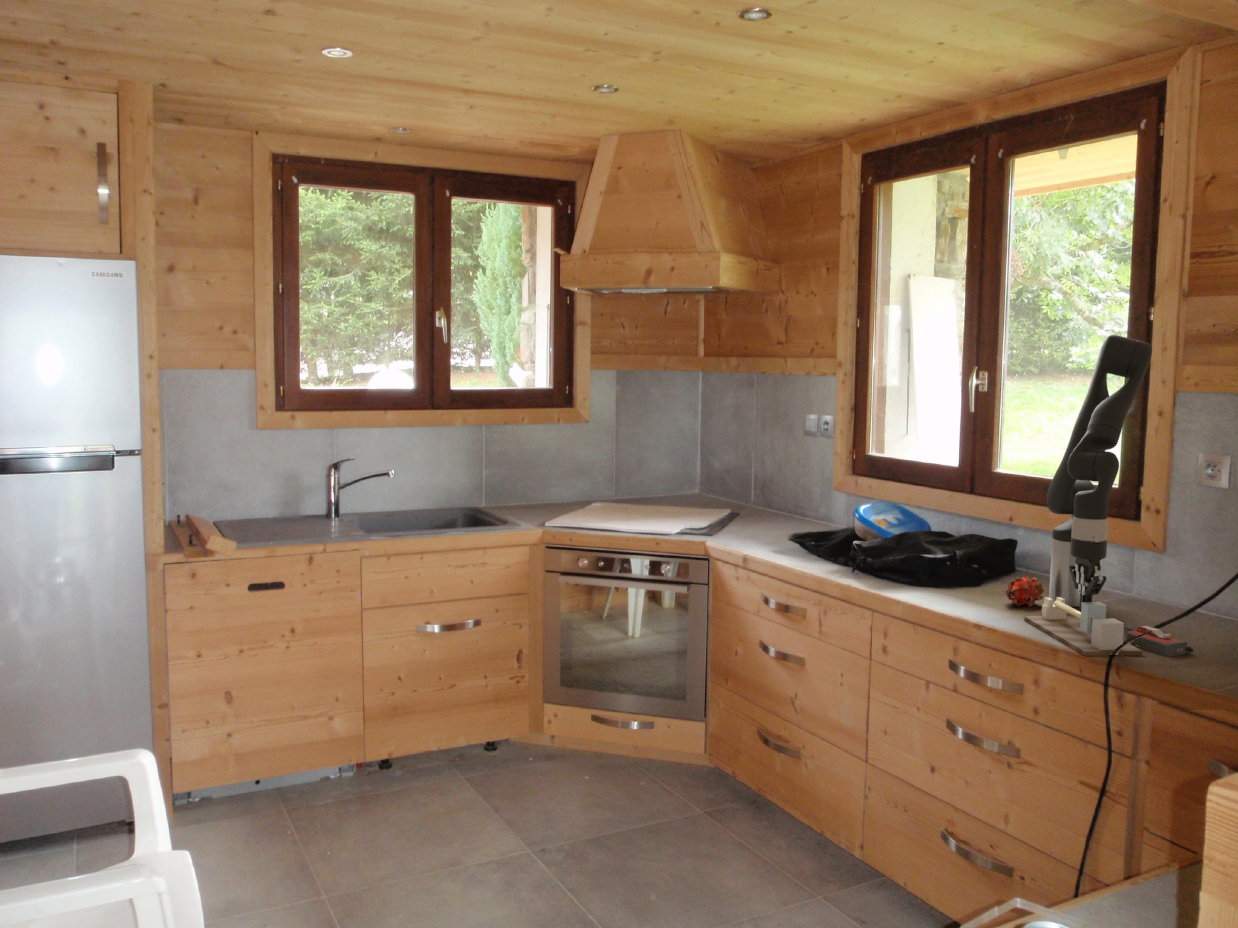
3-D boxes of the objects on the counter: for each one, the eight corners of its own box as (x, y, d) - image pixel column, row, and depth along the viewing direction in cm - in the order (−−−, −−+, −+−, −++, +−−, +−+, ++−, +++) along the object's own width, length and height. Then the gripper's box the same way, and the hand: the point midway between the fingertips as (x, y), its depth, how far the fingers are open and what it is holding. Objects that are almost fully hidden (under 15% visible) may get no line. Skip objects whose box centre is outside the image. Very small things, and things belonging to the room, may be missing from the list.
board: (1024, 620, 248) (1024, 616, 248) (1075, 619, 249) (1075, 615, 248) (1084, 655, 218) (1084, 651, 218) (1142, 655, 219) (1142, 650, 219)
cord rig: (1041, 616, 247) (1042, 593, 247) (1061, 616, 247) (1062, 593, 247) (1100, 649, 219) (1101, 623, 219) (1122, 649, 219) (1124, 623, 219)
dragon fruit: (1042, 608, 266) (1011, 620, 261) (1020, 585, 271) (989, 596, 266) (1057, 587, 260) (1026, 599, 255) (1034, 564, 266) (1003, 575, 260)
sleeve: (1080, 629, 229) (1081, 602, 228) (1098, 629, 229) (1099, 602, 228) (1086, 632, 226) (1088, 605, 225) (1104, 632, 226) (1106, 605, 225)
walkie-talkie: (1200, 655, 220) (1126, 632, 239) (1202, 635, 220) (1127, 614, 238) (1171, 659, 217) (1098, 635, 236) (1172, 639, 217) (1099, 617, 235)
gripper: (1059, 531, 235) (1055, 603, 237) (1087, 542, 222) (1083, 617, 224) (1090, 531, 235) (1086, 602, 237) (1120, 542, 222) (1116, 617, 224)
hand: (1085, 610), depth 231 cm, fingers closed
